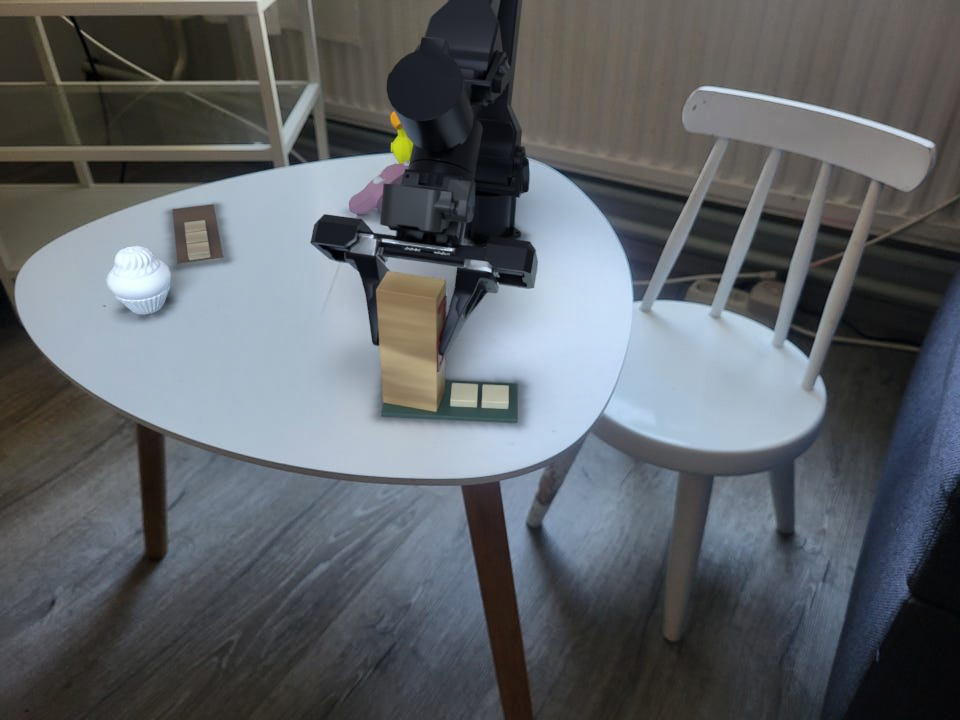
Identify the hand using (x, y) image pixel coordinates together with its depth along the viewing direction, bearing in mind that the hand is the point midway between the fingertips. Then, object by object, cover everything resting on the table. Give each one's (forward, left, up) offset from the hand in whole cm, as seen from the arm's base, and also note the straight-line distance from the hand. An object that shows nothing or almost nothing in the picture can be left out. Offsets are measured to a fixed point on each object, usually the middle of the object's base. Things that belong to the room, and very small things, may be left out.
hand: (408, 350), depth 63 cm
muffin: (+17, -27, -7) cm, 33 cm away
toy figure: (-21, -45, -7) cm, 50 cm away
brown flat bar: (+9, -40, -7) cm, 42 cm away
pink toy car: (-15, -37, -7) cm, 41 cm away
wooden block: (-1, -1, -6) cm, 7 cm away
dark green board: (-4, +1, -7) cm, 8 cm away
